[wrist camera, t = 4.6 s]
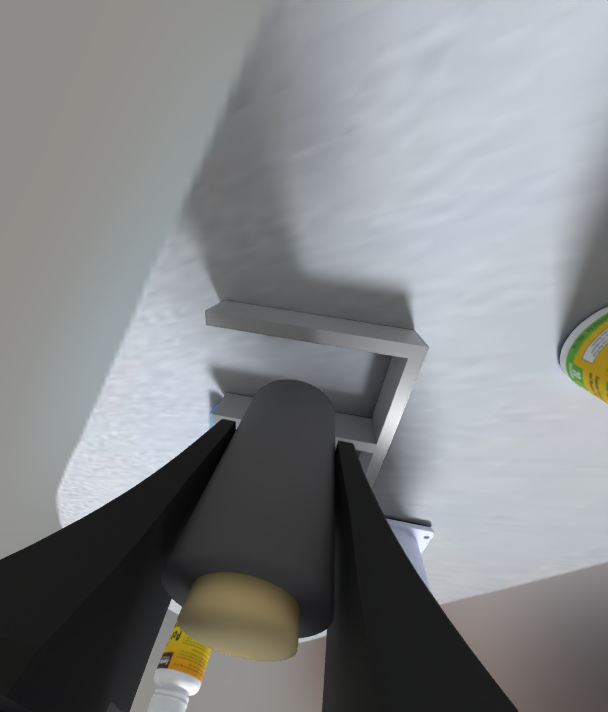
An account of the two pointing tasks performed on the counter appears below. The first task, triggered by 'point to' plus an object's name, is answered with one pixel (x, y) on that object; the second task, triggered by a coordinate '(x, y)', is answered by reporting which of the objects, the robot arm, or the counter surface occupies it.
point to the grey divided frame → (340, 333)
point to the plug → (263, 532)
